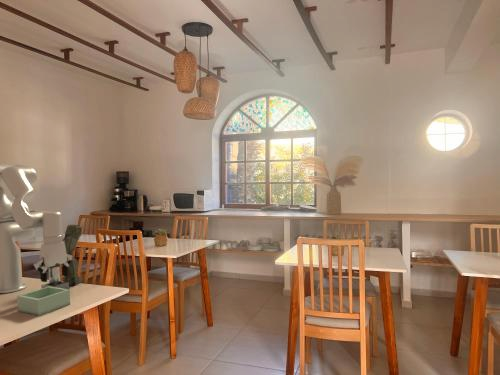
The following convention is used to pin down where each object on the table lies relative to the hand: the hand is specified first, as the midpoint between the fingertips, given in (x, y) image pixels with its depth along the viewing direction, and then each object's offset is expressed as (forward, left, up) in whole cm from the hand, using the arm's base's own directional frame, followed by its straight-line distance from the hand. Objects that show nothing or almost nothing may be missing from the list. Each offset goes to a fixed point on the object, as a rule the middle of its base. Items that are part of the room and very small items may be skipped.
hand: (54, 278), depth 156 cm
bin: (+11, -12, -7) cm, 18 cm away
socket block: (0, 0, -7) cm, 7 cm away
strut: (0, 0, -4) cm, 4 cm away
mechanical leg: (-8, +14, -7) cm, 18 cm away
